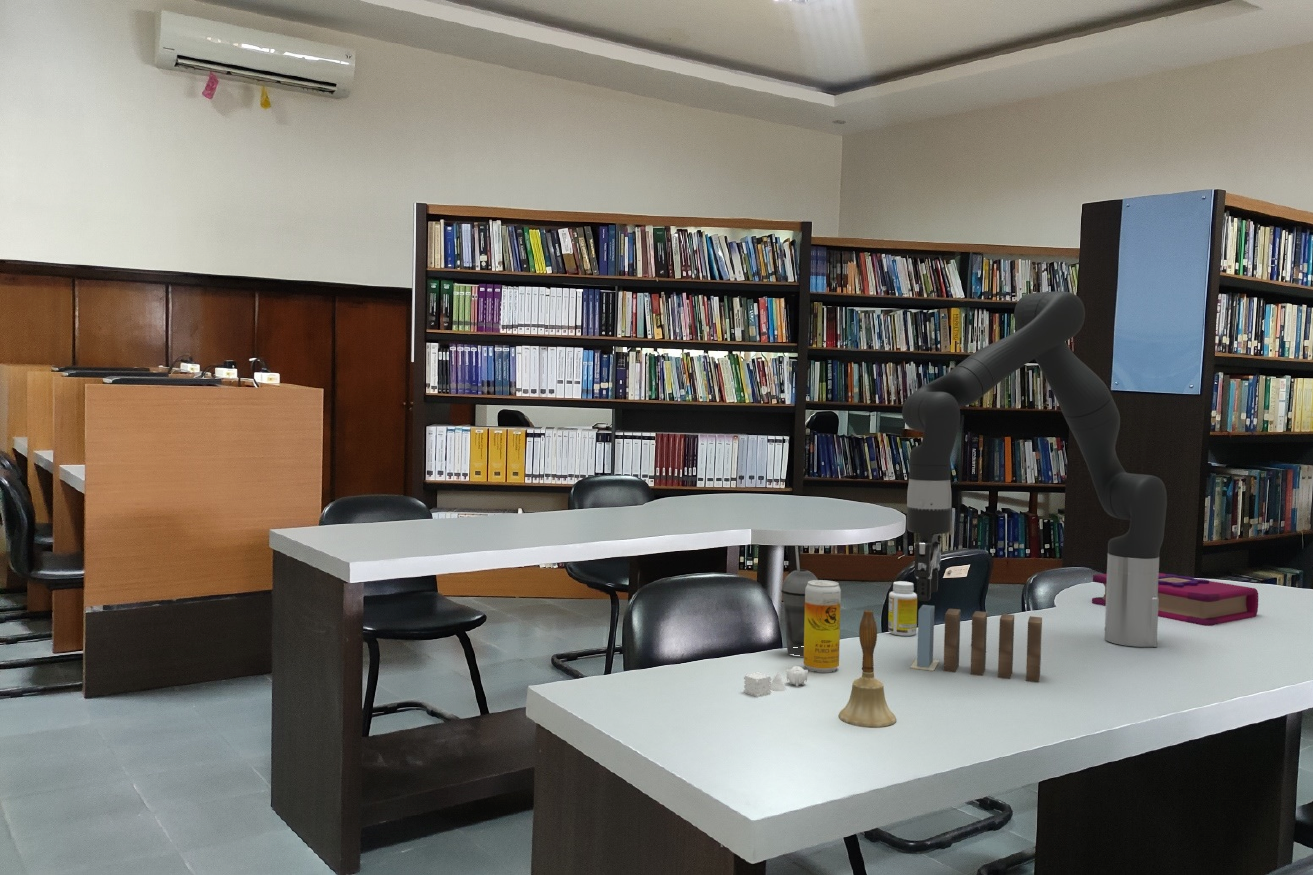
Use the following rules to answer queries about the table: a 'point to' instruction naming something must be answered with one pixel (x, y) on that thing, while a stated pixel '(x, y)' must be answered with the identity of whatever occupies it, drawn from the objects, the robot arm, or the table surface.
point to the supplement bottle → (902, 609)
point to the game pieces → (760, 682)
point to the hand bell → (867, 685)
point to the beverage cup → (795, 606)
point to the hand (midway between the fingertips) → (927, 596)
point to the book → (1198, 600)
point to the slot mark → (931, 668)
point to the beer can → (822, 625)
